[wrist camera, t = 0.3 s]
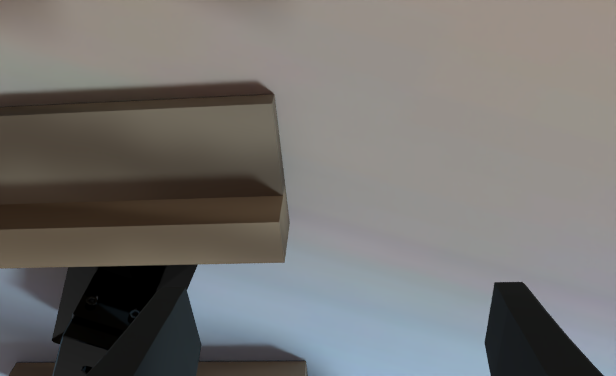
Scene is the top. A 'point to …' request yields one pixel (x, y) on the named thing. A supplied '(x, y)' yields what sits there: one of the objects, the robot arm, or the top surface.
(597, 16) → the top surface
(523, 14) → the top surface
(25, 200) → the wooden stepped rails
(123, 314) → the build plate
